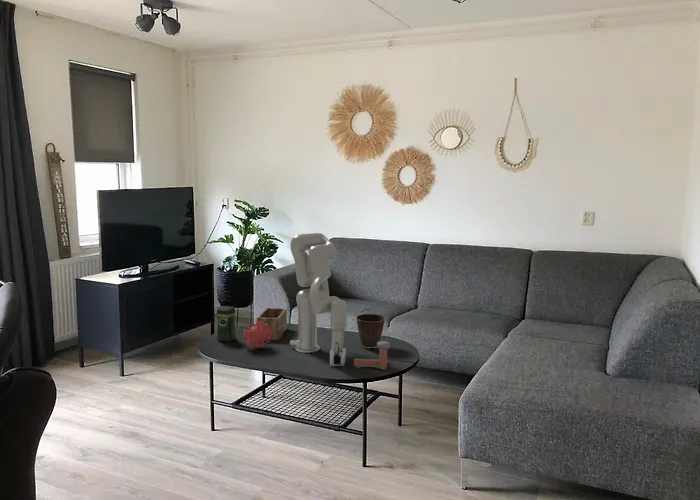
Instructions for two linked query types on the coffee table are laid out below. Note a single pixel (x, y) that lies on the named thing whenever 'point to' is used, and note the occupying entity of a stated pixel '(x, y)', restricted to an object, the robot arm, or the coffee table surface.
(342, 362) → the block
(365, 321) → the plant pot
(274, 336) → the wooden crate
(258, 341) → the virus model
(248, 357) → the coffee table surface
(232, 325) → the coffee jar
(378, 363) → the brown mallet
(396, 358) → the coffee table surface
